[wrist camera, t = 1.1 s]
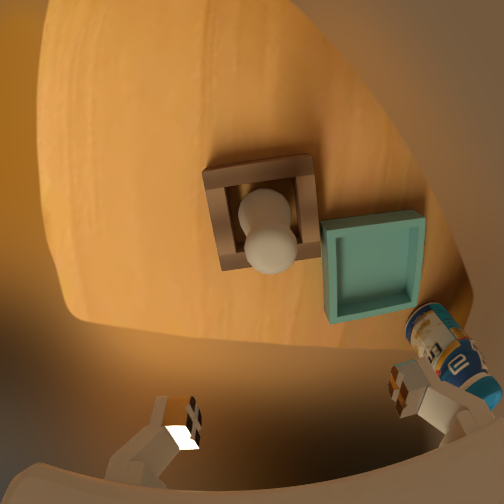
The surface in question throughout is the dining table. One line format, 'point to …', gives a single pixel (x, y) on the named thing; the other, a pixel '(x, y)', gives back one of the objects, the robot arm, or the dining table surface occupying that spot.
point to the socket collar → (256, 172)
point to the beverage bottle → (451, 352)
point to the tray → (371, 264)
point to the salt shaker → (267, 231)
